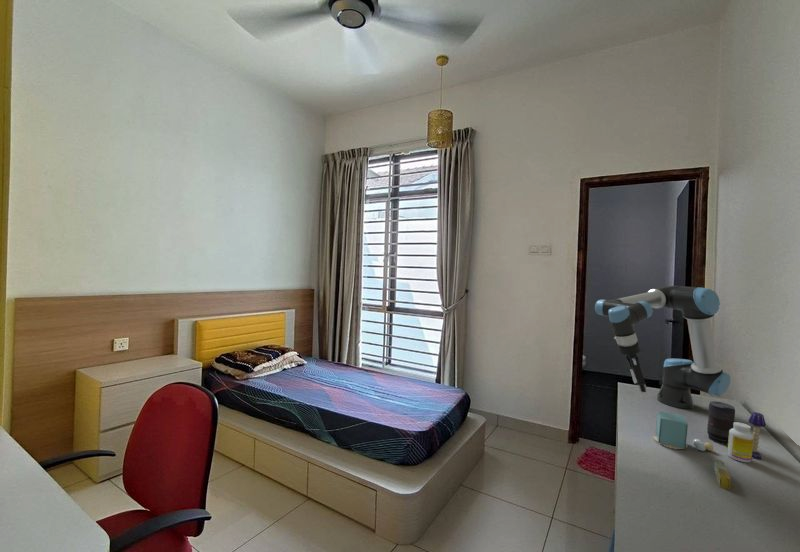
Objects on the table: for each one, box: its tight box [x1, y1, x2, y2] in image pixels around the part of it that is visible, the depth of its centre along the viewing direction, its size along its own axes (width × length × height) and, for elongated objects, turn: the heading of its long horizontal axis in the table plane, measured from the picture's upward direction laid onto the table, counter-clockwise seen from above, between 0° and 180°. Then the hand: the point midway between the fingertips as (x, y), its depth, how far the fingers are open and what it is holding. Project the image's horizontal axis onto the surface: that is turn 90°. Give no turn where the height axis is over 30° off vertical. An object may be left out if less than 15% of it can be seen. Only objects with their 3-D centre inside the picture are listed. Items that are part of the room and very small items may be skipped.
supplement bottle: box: [726, 421, 754, 464], centre depth 134 cm, size 7×7×13 cm
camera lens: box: [706, 400, 736, 445], centre depth 147 cm, size 8×8×15 cm
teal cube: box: [655, 410, 689, 450], centre depth 143 cm, size 8×8×10 cm
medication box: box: [713, 459, 732, 491], centre depth 120 cm, size 12×3×4 cm, turn 147°
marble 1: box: [692, 438, 703, 447], centre depth 141 cm, size 3×3×3 cm
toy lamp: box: [747, 411, 767, 460], centre depth 136 cm, size 5×5×17 cm
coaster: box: [652, 434, 689, 450], centre depth 144 cm, size 11×11×1 cm
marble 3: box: [703, 441, 714, 452], centre depth 139 cm, size 3×3×3 cm
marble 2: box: [695, 442, 707, 452], centre depth 138 cm, size 3×3×3 cm
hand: (641, 390), depth 151 cm, fingers open, 13 cm apart
